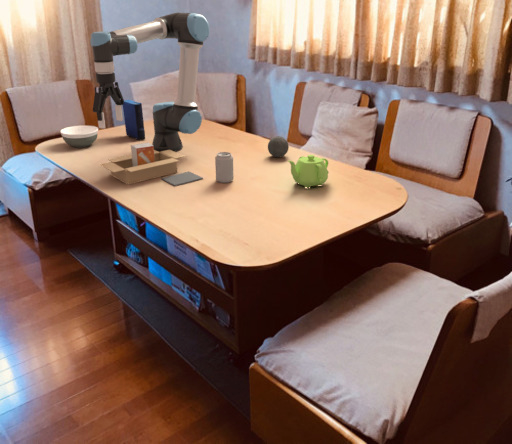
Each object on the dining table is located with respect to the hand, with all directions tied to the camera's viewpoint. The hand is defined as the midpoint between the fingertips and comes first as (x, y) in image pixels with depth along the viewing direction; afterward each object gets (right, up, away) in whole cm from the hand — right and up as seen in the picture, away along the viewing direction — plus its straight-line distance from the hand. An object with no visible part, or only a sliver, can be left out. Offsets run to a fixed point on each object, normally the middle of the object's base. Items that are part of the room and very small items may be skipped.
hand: (111, 124), depth 224 cm
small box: (+12, -20, +10) cm, 26 cm away
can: (+48, -24, +2) cm, 53 cm away
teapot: (+82, -26, -2) cm, 86 cm away
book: (-4, +4, +64) cm, 64 cm away
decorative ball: (+72, -10, +33) cm, 79 cm away
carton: (+12, -20, +10) cm, 25 cm away
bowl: (-29, -2, +51) cm, 59 cm away
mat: (+29, -23, +4) cm, 37 cm away
